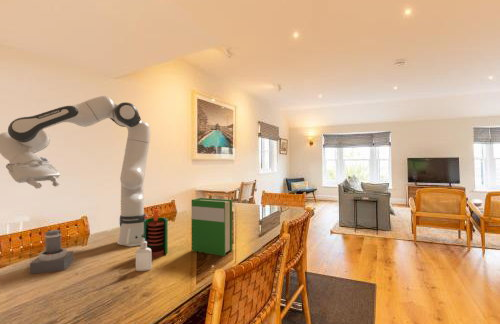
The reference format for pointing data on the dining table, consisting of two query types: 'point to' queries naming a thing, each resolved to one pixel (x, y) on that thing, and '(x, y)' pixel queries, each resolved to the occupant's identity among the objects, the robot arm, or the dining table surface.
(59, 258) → the grey holder base
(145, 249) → the eye dropper bottle
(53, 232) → the lens
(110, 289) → the dining table surface
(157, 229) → the motor
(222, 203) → the hardback book
